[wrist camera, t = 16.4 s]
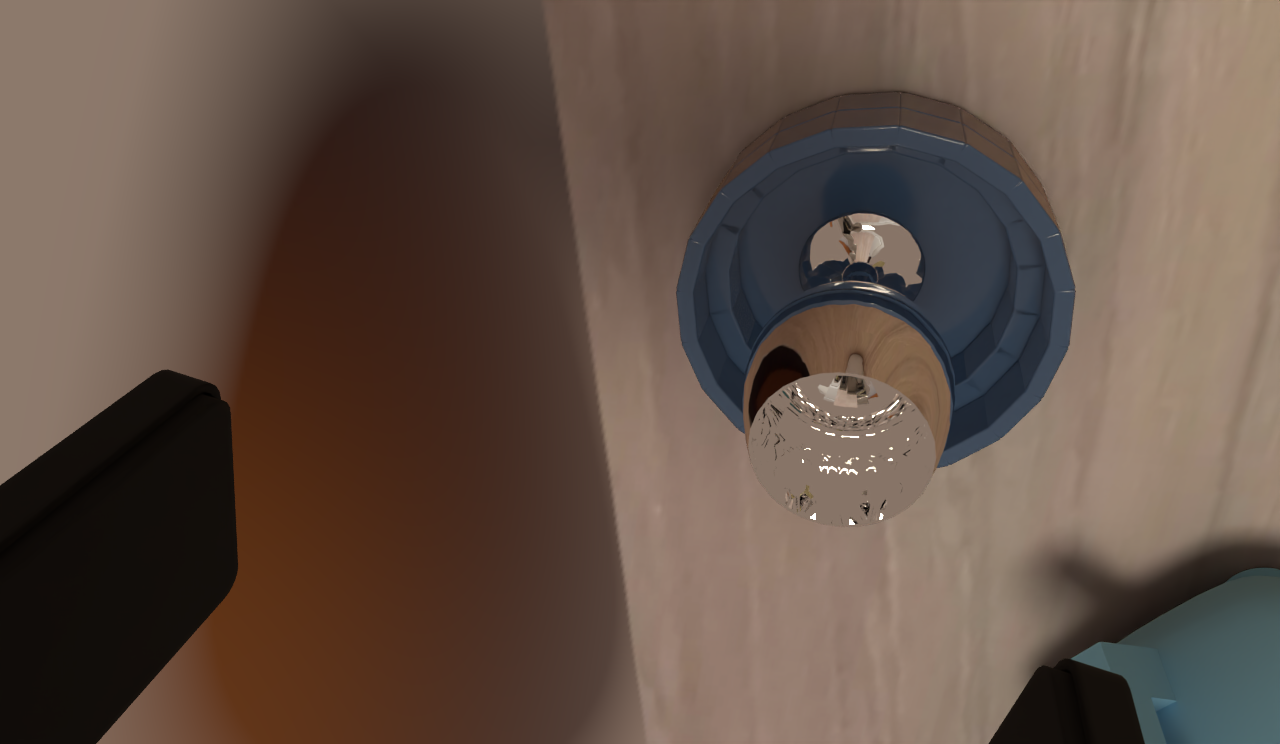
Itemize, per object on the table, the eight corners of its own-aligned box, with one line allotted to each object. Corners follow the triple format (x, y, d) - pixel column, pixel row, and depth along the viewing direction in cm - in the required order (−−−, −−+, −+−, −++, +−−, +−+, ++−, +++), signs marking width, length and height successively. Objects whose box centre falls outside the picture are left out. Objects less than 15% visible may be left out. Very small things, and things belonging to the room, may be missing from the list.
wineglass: (979, 278, 33) (1010, 474, 22) (850, 368, 36) (826, 577, 25) (873, 158, 32) (855, 306, 21) (748, 260, 34) (681, 433, 24)
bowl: (674, 352, 38) (644, 416, 34) (751, 47, 31) (727, 79, 27) (972, 442, 36) (980, 520, 32) (1116, 143, 30) (1150, 192, 26)
